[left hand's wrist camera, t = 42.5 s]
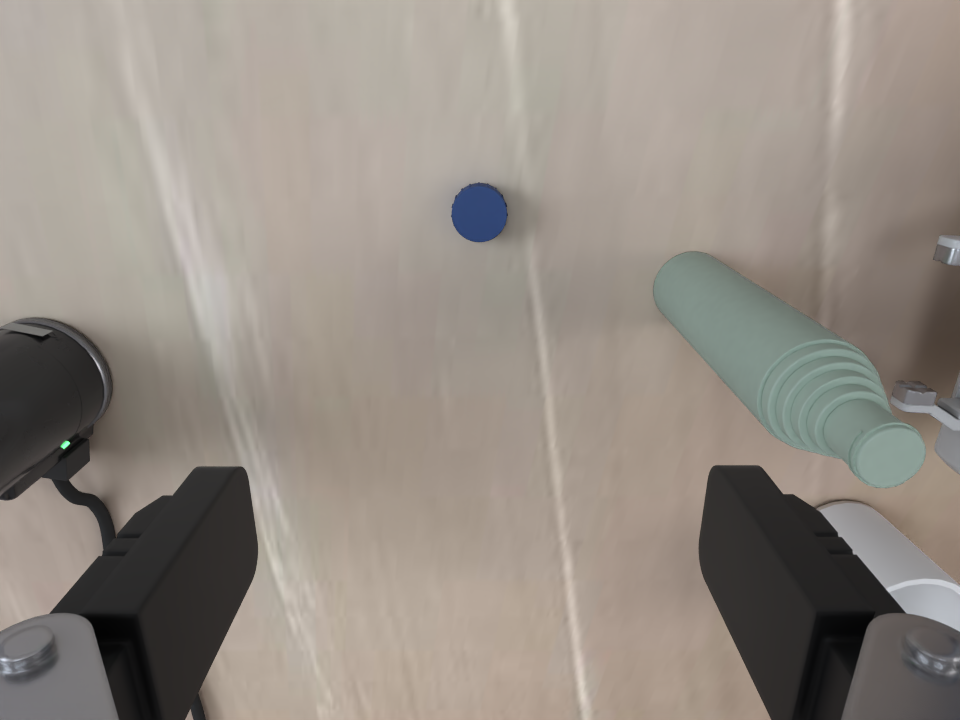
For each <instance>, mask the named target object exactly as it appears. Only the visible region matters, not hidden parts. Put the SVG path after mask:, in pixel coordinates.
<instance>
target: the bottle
mask: <svg viewBox="0 0 960 720" xmlns="http://www.w3.org/2000/svg"><path fill="white" fill-rule="evenodd" d="M653 294H654V300H655V303H656V305H657V307H658V309H659V310H660V311H661V313H662V314H663V315H664V316H665V317H666V318H667V319H668V320H669V321H670V323H671V324H672V325H673V326H674V327H675V328H676V329H677V330H678V331H679V333H680V334H681V335H682V336H683V337H684V338H685V339H686V340H687V342H688V343H689V344H690V345H691V346H692V347H693V348H694V349H695V350H696V352H697V353H698V354H699V355H700V356H701V357H702V358H703V359H704V360H705V362H706V363H707V364H708V365H709V366H710V367H711V368H712V369H713V370H714V372H715V373H716V374H717V375H718V376H719V377H720V378H721V379H722V380H723V382H724V383H725V384H726V385H727V386H728V387H729V388H730V389H731V391H732V392H733V393H734V394H735V395H736V396H737V397H738V398H739V399H740V401H741V402H742V403H743V404H744V405H745V406H746V407H747V408H748V409H749V411H750V412H751V413H752V414H753V415H754V416H755V417H756V418H757V419H758V421H759V422H760V423H761V424H762V425H763V426H764V427H765V428H766V430H767V431H768V432H769V433H770V434H772V435H773V436H774V437H776V438H777V439H779V440H781V441H783V442H785V443H786V444H788V445H790V446H792V447H795V448H797V449H801V450H807V451H809V452H814V453H818V454H821V455H825V456H831V457H834V458H838V459H842V460H843V461H844V462H845V463H846V464H847V465H848V466H849V469H850V470H851V471H852V472H853V473H854V475H855V476H856V477H858V479H859V480H860V481H862V482H864V483H865V484H867V485H869V486H873V487H876V488H889V487H894V486H895V487H896V486H898V485H900V484H903V483H904V482H905V481H907V480H908V479H910V478H911V477H912V476H914V475H915V474H916V473H917V472H918V470H919V469H920V468H921V466H922V464H923V462H924V459H925V455H926V448H925V444H924V441H923V439H922V437H921V435H920V433H919V432H918V431H917V429H915V428H914V427H912V426H911V425H909V424H907V423H903V422H902V421H900V420H899V419H898V418H896V417H895V416H893V415H892V413H891V409H890V407H889V404H888V399H887V397H886V394H885V393H884V389H883V386H882V383H881V381H880V377H879V374H878V372H877V370H876V368H875V367H874V365H873V364H872V363H871V362H870V361H869V359H868V358H867V356H866V355H865V354H864V353H863V352H862V351H861V350H859V349H858V348H857V347H855V346H854V345H852V344H851V343H849V342H847V341H846V340H844V339H843V338H841V337H839V336H838V335H836V334H835V333H833V332H831V331H830V330H828V329H827V328H825V327H824V326H822V325H820V324H819V323H817V322H816V321H814V320H812V319H811V318H809V317H808V316H806V315H804V314H803V313H801V312H800V311H798V310H797V309H795V308H793V307H792V306H790V305H789V304H787V303H785V302H784V301H782V300H781V299H779V298H777V297H776V296H774V295H773V294H771V293H770V292H768V291H766V290H765V289H763V288H762V287H760V286H758V285H757V284H755V283H754V282H752V281H750V280H749V279H747V278H746V277H744V276H742V275H741V274H739V273H738V272H736V271H735V270H733V269H731V268H730V267H728V266H727V265H725V264H723V263H722V262H720V261H719V260H717V259H715V258H714V257H712V256H710V255H708V254H706V253H702V252H686V253H682V254H679V255H677V256H675V257H673V258H672V259H670V260H669V261H668V262H667V263H666V264H665V265H664V266H663V267H662V268H661V269H660V271H659V272H658V274H657V276H656V279H655V282H654V288H653Z"/></svg>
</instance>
